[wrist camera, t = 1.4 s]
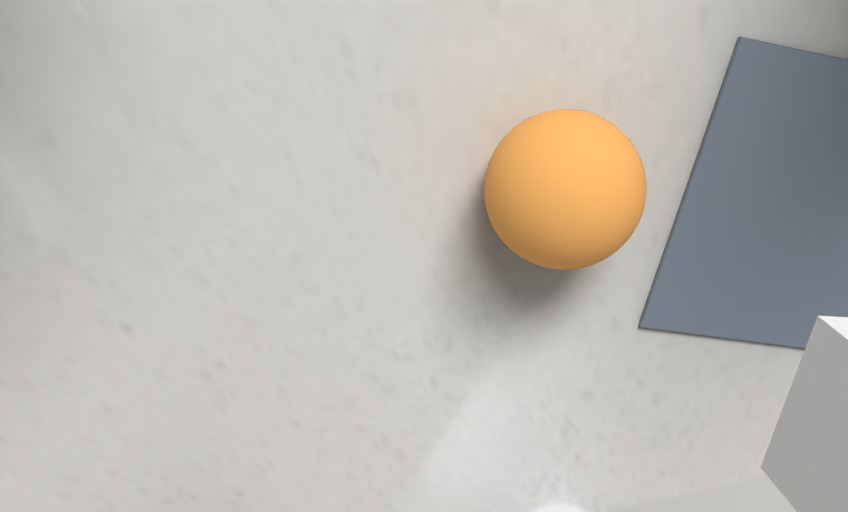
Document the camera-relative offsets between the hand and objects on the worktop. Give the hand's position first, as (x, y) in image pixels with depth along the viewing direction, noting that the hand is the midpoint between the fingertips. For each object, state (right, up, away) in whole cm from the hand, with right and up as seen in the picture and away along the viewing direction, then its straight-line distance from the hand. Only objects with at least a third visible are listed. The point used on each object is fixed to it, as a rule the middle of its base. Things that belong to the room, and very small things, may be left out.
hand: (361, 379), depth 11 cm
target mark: (+17, +3, +22) cm, 28 cm away
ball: (+6, +4, +17) cm, 18 cm away
